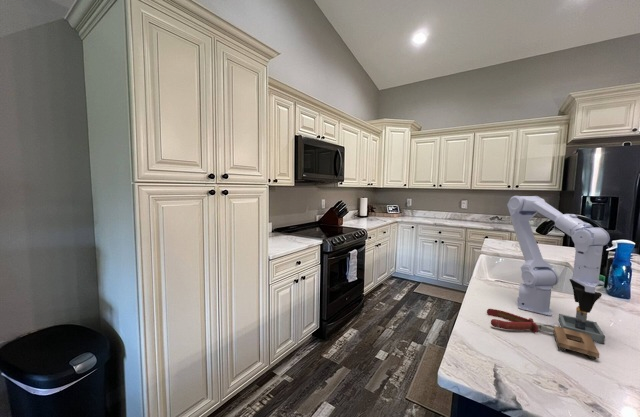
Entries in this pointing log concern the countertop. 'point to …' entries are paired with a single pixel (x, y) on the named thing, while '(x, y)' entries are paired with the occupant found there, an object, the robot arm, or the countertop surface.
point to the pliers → (517, 322)
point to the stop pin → (580, 319)
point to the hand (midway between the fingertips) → (581, 306)
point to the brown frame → (584, 347)
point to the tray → (590, 329)
